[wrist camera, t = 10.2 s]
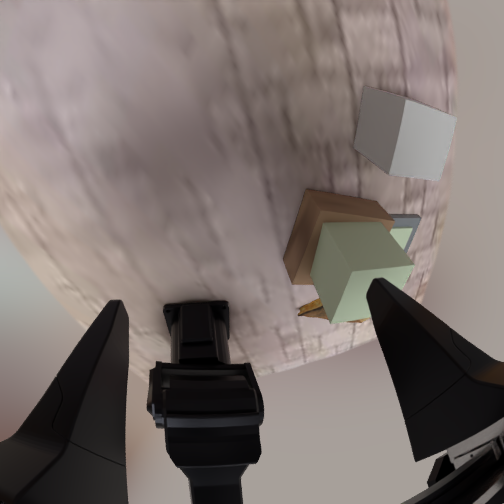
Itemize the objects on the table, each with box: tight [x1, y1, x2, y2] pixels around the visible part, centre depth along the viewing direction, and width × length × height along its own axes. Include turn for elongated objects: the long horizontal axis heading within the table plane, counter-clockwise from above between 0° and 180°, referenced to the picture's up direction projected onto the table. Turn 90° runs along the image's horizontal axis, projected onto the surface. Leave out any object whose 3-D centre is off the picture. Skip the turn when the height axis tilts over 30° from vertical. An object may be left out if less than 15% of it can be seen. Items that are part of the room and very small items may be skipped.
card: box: [390, 215, 421, 253], centre depth 25 cm, size 5×5×1 cm
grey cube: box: [353, 86, 457, 181], centre depth 16 cm, size 5×5×5 cm
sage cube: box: [310, 222, 415, 324], centre depth 19 cm, size 5×5×5 cm
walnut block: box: [283, 189, 395, 285], centre depth 23 cm, size 7×7×4 cm
